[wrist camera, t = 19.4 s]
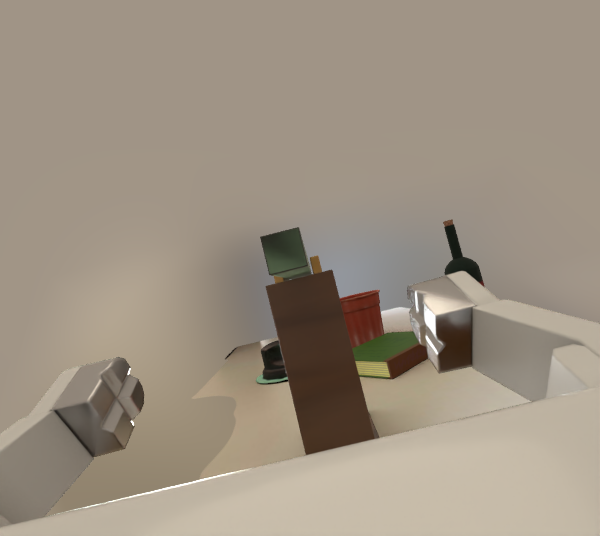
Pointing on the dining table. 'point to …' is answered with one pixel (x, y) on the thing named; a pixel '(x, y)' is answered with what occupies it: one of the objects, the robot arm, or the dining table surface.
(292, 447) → the dining table surface
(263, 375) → the chocolate cake
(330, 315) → the stand
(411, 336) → the hardcover book
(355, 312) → the flower pot
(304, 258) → the slide bar
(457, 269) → the wine bottle
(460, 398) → the dining table surface
